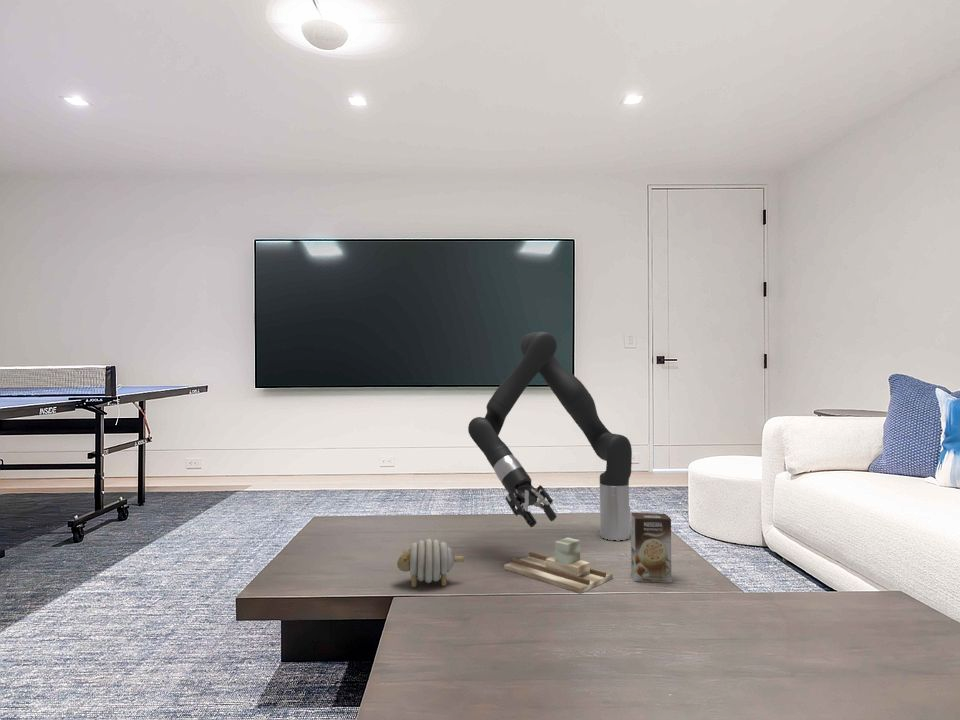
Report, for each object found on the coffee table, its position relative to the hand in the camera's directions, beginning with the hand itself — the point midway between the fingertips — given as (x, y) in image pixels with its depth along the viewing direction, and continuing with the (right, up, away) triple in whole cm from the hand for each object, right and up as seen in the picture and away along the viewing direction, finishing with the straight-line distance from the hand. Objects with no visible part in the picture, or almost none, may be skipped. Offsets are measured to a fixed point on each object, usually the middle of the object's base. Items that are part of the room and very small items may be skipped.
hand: (544, 522), depth 154 cm
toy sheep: (-30, -13, -10) cm, 34 cm away
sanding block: (+5, -11, -6) cm, 14 cm away
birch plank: (+3, -13, -3) cm, 13 cm away
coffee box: (+27, -12, -7) cm, 30 cm away
